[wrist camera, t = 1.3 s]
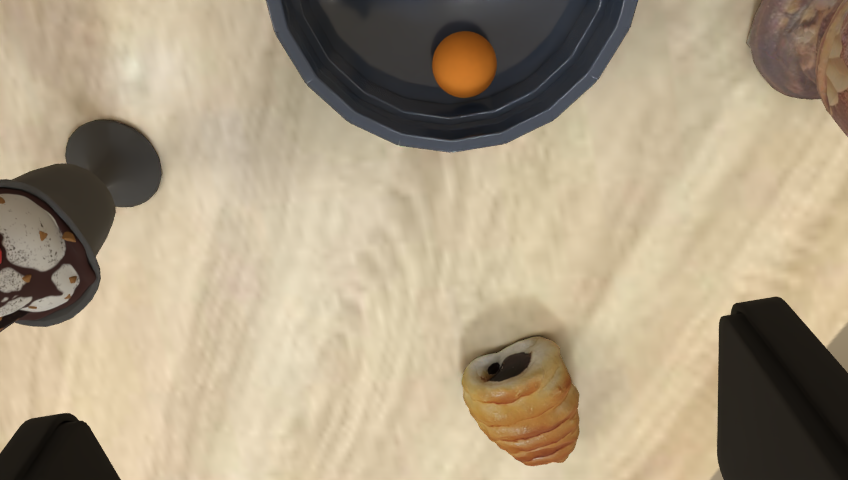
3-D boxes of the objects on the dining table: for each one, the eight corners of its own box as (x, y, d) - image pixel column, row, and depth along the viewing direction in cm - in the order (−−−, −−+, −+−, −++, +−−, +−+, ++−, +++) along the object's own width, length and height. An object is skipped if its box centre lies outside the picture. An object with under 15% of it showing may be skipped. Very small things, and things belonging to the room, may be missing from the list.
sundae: (133, 82, 33) (-59, 212, 20) (200, 197, 36) (73, 376, 23) (22, 127, 34) (-230, 279, 21) (96, 235, 37) (-83, 427, 24)
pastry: (596, 429, 44) (610, 474, 41) (502, 459, 45) (508, 504, 42) (550, 323, 40) (562, 363, 37) (448, 359, 41) (450, 401, 38)
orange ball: (426, 31, 31) (427, 44, 29) (489, 20, 31) (496, 32, 29) (436, 92, 33) (438, 110, 30) (496, 82, 33) (503, 99, 30)
